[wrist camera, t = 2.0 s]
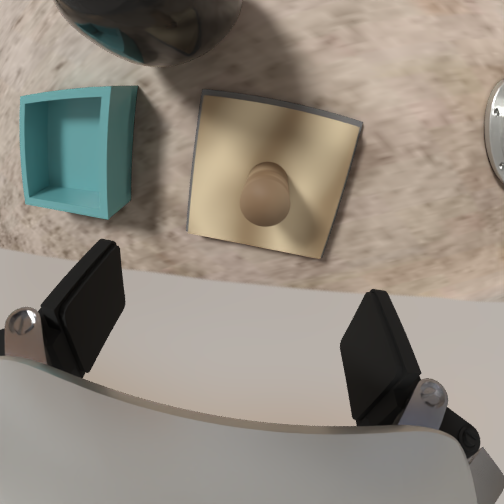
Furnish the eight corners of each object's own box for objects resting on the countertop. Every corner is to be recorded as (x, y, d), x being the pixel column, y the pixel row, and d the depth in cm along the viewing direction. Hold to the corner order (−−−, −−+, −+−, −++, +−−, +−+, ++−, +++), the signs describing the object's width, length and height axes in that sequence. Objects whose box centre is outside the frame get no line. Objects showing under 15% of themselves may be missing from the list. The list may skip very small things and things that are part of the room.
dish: (137, 85, 20) (111, 86, 16) (130, 200, 26) (108, 219, 22) (50, 91, 20) (20, 96, 16) (51, 188, 25) (25, 204, 22)
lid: (355, 125, 20) (381, 136, 15) (318, 252, 26) (327, 294, 21) (207, 95, 20) (183, 95, 15) (191, 227, 26) (169, 263, 21)
